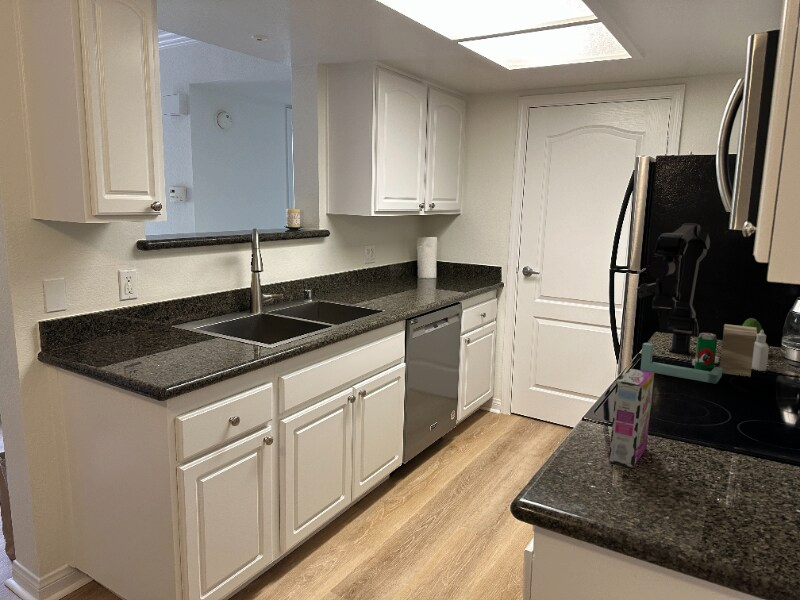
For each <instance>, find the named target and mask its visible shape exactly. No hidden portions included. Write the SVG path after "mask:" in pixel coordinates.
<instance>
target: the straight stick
mask: <svg viewBox="0 0 800 600" xmlns="http://www.w3.org/2000/svg"><path fill="white" fill-rule="evenodd" d="M719 360H720V357H718V356H717V355H715V364H717V363H719V362H720V361H719ZM691 365H692V366H695V358H694V359H692V362H691Z"/></svg>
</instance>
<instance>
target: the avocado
mask: <svg viewBox="0 0 800 600" xmlns="http://www.w3.org/2000/svg"><path fill="white" fill-rule="evenodd" d="M741 326H747V327H756V329H757V334H759V333H760V331H761V330H763V327H762V325H761V324H760V322H759V320H757V319H756V318H754V317H750V318H748V319H747V318H746V320H745V321H744V322H743V323H742V325H741ZM756 338H757V336H755V341H756Z"/></svg>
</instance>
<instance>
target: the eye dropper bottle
mask: <svg viewBox="0 0 800 600" xmlns="http://www.w3.org/2000/svg"><path fill="white" fill-rule="evenodd" d="M766 340H767V335H766V334H765V332H764V329H762V330H761V331H760V333H759V334H757V338H756V341H755V344H754V352H753V360H752V369H751V370H755V371H757V370H758V371H757V372H766V371H767V368H768V359H769V350H770V349H769V348H770V347H769V344H768V343H767V342H766Z"/></svg>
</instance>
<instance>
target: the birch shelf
mask: <svg viewBox="0 0 800 600" xmlns="http://www.w3.org/2000/svg"><path fill="white" fill-rule="evenodd" d="M755 336H757V329H756V327H747V326H742V325H734V324H727V323H724V325H723V335H722V342H721V343H722V344H721V351H720V352H721V353H720V359H719V360H720V361H719V367H720V368H723V369H722V374H727V375H733V376H739V375H740V377H746V376H748V377H749V378H751V374H752V370H753V369H752V360H753V352H754V344H755ZM748 377H747V378H748Z"/></svg>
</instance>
